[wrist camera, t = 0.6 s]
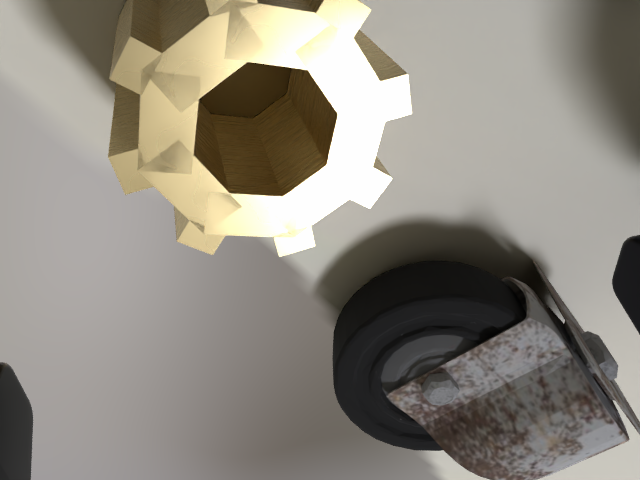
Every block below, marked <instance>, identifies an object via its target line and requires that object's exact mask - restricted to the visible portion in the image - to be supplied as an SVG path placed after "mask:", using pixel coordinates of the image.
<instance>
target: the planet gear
mask: <svg viewBox="0 0 640 480" xmlns="http://www.w3.org/2000/svg"><path fill="white" fill-rule="evenodd" d="M370 11H371V9H370V8H368V7H367V6H366V5H365V4H363V3H362V2H361V1H359V0H126V3H125V5H124V7H123V9H122V11H121V13H120V15H119V17H118V23H117V30H116V36H115V43H114V50H113V57H112V64H111V70H110V77H109V79H110V80H112V81H114V82H116V83H117V85H116V93H115V102H114V111H113V119H112V128H111V137H110V145H109V154H108V158H109V160H110V162H111V164H112V167H113V169H114V171H115V173H116V175H117V178H118V180H119V182H120V184H121V186H122V188H123V191H124V193H125V195H126V194H130V193H133V192H137V191H140V190H144V189H147V188H151V187H155V188H156V189H157V190H158V191H159V192H160V193H161V194H162V195H163V196H164V197H165V198H167V199H168V200H169V201H170V202H171V203H172V204H173V205H174V211H175V225H176V237H177V242H180V243H182V244H185V245H187V246H190V247H193V248H196V249H198V250H201V251H203V252H206V253H208V254H211V255H213V254H214V252H215V251H216V249H217V248H218V246H219V245H220V243H221V241H222V240H223V238H224V237H225V235H236V236H262V237H273V238H274V242H275V245H276V248H277V251H278V254H279V257H281V256H284V255H288V254H291V253H294V252H298V251H301V250H304V249H308V248H311V247H314V246H315V242H314V238H313V234H312V230H311V225H313V224H314V223H316V222H317V221H319V220H320V219H321V218H323V217H324V216H326V215H327V214H329V213H330V212H331V211H333V210H334V209H336V208H337V207H339V206H340V205H341V204H343V203H344V202H346V201H347V200H349V199H351V200H353V201H355V202H357V203H359V204H361V205H363V206H365V207H368V208H371V206H372V205H373V204H374V202H375V201H376V200H377V198H378V197H379V196H380V194H381V193H382V192H383V190H384V189H385V188H386V186H387V185H388V184H389V182H390V181H391V180H392V177H391V176H390V174H389V173H388V172H387V170H386V169H385V167H384V166H383V165H382V163H381V162H380V160H379V159H378V158H377V156H376V153H377V149H378V145H379V142H380V138H381V134H382V131H383V127H384V124H385V121H388V120H391V119H395V118H398V117H402V116H406V115H409V114H412V112H411V101H410V90H409V80H408V74H407V73H406V72H405V71H404V70H403V69H402V68H401V67H400V66H399V65H397V64H396V63H395V62H394V61H393V60H392V59H391V58H390V57H389V56H388V55H387V54H385V53H384V52H383V51H382V50H381V49H380V48H379V47H378V46H377V45H376V44H374V43H373V42H372V41H371V40H370V39H369V38H368V37H367V36H366V35H365V34H364V33H362V32H361V31H360V30H359V28H360V27H361V25H362V24H363V22H364V21H365V19H366V18H367V16H368V14H369V13H370ZM247 62H252V63H260V64H268V65H275V66H283V67H290V68H291V74H290V80H289V85H288V91H287V94H285V95H284V96H283V97H281V98H280V99H279V100H277V101H276V102H275V103H273V104H272V105H270V106H269V107H268V108H266V109H265V110H264V111H262V112H261V113H260V114H258V115H257V116H256V117H254V118H246V117H236V116H226V115H216V114H211V113H210V112H209V111H208V110H207V109H206V108H205V106H204V105H203V104H202V103H201V102H200V101H199V99H200V98H201V97H202V96H204V95H205V94H206V93H208V92H209V91H210V90H212V89H213V88H214V87H215V86H217V85H218V84H219V83H221V82H222V81H223V80H225V79H226V78H227V77H229V76H230V75H231V74H232V73H234V72H235V71H236V70H238V69H239V68H240V67H242V66H243V65H244V64H246V63H247Z"/></svg>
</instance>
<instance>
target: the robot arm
mask: <svg viewBox="0 0 640 480" xmlns="http://www.w3.org/2000/svg"><path fill="white" fill-rule="evenodd" d="M612 284H613V289H614V292H615V294H616V296H617V298H618V299H619V301H620V303H621V304H622V306H623V308H624V309H625V311H626V313H627V314H628V316H629V318H630V319H631V321H632V323H633V324H634V326H635V327H636V329H637V331H638V332H639V334H640V235H637V236H632V237H630V238H628V239H627V240H626V241H625V242H624V243H623V245H622V248H621V251H620V255H619V258H618V261H617V265H616V268H615V271H614V275H613V279H612ZM32 432H33V413H32V407H31V404H30V402H29V399H28V398H27V396H26V394H25V392H24V390H23V388H22V386H21V384H20V382H19V381H18V379H17V377H16V375H15V373H14V371H13V369H12V368H11V367H10V366H9V365H8V364H7V363H0V480H31V458H32V457H31V456H32Z"/></svg>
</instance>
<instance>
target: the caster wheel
mask: <svg viewBox="0 0 640 480" xmlns="http://www.w3.org/2000/svg"><path fill="white" fill-rule="evenodd" d="M533 264H534V266H535V268H536V269H537V271H538V273H539V275H540V276H541V278H542V280H543V282H544V284H545V285H546V287H547V289H548V291H549V292H550V294H551V296H552V298H553V300H554V301H555V303H556V305H557V307H558V308H559V310H560V312H561V314H562V316H563V317H564V319H565V323H564V324H563V322H562V321H561V320H560V319H559V318H558V317H557V316H556V315H555V313H554V312H553V311H552V310H551V309H550V308H547V307H546V306H545V305H544V303H543V302H542V301H541V300H540V298H539V297H538V296H537V295H536V293H535V292H534V291H533V290H532V289H531V288H530V287H529V286H528V285H526V284H525V283H523V282H521V281H518V280H516V279H514V278H512V277H509V276H508V277H505V278H503V279H501V280H500V279H499V278H497V277H496V276H494V275H493V274H490V273H488V272H486V271H484V270H482V269H480V268H477V267H473V266H470V265H466V264H463V263H457V262H446V261H424V262H419V263H414V264H409V265H405V266H402V267H398V268H396V269H393V270H390V271H388V272H386V273H383V274H382V275H380V276H378V277H376V278H375V279H373V280H371V281H370V282H369V283H367V284H366V285H365V286H363V287H362V288H361V289H360V290H358V291H357V292H356V293H355V294H354V295H353V297H352V298H351V299H350V300H349V301H348V303H347V304H346V305H345V306H344V308H343V310H342V312H341V314H340V315H339V317H338V320H337V323H336V326H335V330H334V340H333V379H334V389H335V394H336V397H337V400H338V403H339V404H340V406H341V408H342V410H343V411H344V412H345V413H346V415H347V416H348V417H349V419H350V420H351V421H352V422H353V423H354V424H356V425H357V426H358V427H359V428H360V429H361V430H362V431H364V432H365V433H367V434H369V435H370V436H372V437H374V438H375V439H378V440H380V441H383V442H385V443H388V444H391V445H393V446H398V447H403V448H407V449H412V450H431V451H440V450H444V451H445V452H446V453H447V454H448V455H449V456H450V457H452V458H453V459H454V460H455V461H456V462H457V463H458V464H460V465H461V466H463V467H464V468H465V469H467V470H468V471H470V472H472V473H474V474H476V475H478V476H480V477H484V478H487V479H490V480H536V479H539V478H542V477H545V476H548V475H551V474H553V473H556V472H558V471H560V470H562V469H565V468H567V467H569V466H572V465H574V464H576V463H579V462H581V461H583V460H585V459H588V458H590V457H592V456H595V455H597V454H599V453H602V452H604V451H606V450H608V449H611V448H613V447H615V446H618V445H620V444H622V443H625V442H627V441H628V440H629V436H628V433H627V431H626V428H625V426H624V424H623V421H622V419H621V417H620V415H619V413H618V410H617V409H616V407H615V405H614V403H613V401H612V400H615V401H616V402H617V404H618V405H619V406H620V408H621V409H622V411H623V412H624V413H625V415H626V416H627V418H628V419H629V420H630V422H631V423H632V425H633V426H634V427H635V429H636V430H637V432H638V433H639V434H640V422H639V420H638V419H637V417H636V415H635V414H634V412H633V410H632V409H631V407H630V405H629V403H628V402H627V400H626V398H625V397H624V395H623V393H622V392H621V390H620V388H619V387H618V385H617V383H616V382H615V380H614V379H615V378H617V371H618V365H617V363H616V361H615V360H614V358H613V357H612V355H611V353H610V352H609V350H608V349H607V347H606V346H605V344H604V343H603V341H602V340H601V338H600V337H599V336H598V335H596V334H594V333H591V332H588V331H587V332H584V331H583V329H582V328H581V326H580V325H579V324H578V322H577V321H576V319H575V318H574V316H573V315H572V314H571V312H570V311H569V309H568V308H567V306H566V305H565V304H564V302H563V301H562V299H561V298H560V296H559V295H558V293H557V292H556V291H555V289H554V288H553V286H552V285H551V283H550V282H549V281H548V279H547V278H546V276H545V275H544V273H543V272H542V271H541V269H540V268H539V266H538V265H537V263H536V262H534V261H533Z"/></svg>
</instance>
